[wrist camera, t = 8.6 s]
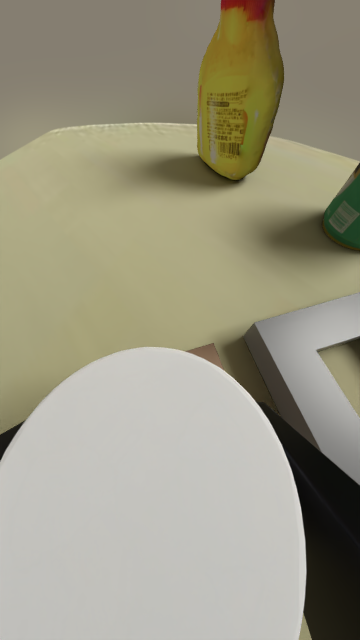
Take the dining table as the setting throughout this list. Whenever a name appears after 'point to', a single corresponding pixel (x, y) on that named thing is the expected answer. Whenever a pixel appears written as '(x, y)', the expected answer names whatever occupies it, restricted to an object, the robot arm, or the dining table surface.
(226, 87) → the bottle
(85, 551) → the pill bottle
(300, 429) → the holder
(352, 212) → the beverage can
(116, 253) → the dining table surface
